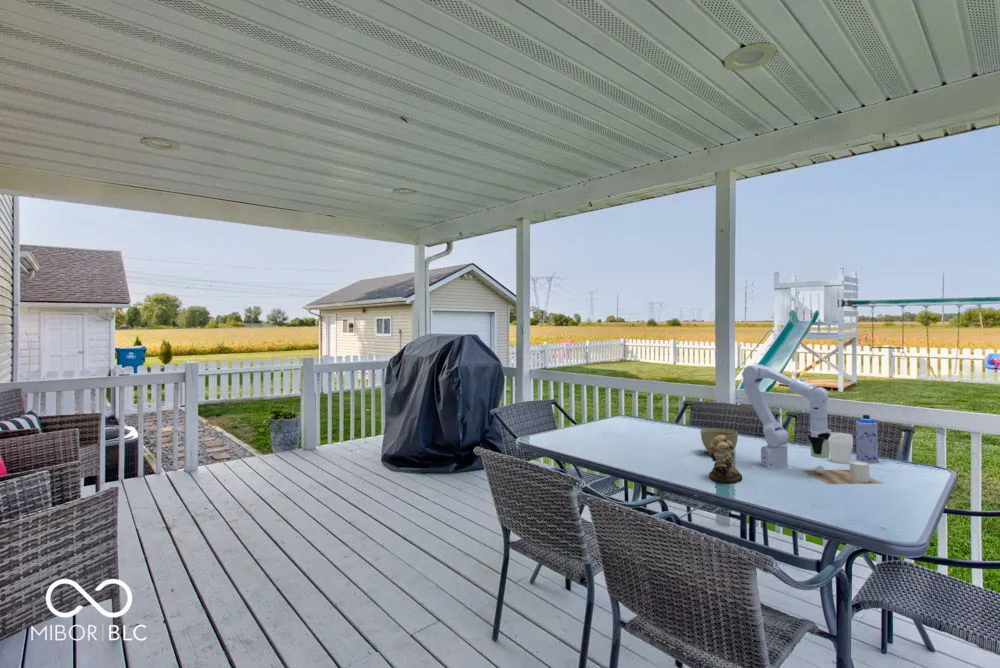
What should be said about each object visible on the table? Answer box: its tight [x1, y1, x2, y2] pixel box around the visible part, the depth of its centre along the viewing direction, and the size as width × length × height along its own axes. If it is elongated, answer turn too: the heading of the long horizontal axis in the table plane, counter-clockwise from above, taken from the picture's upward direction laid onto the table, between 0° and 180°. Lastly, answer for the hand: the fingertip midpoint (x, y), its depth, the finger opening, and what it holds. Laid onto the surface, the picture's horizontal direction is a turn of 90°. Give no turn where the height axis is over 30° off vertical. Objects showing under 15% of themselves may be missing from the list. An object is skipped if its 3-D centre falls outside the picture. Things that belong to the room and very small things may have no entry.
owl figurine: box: [708, 435, 743, 485], centre depth 188 cm, size 18×12×17 cm, turn 150°
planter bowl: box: [699, 427, 739, 455], centre depth 223 cm, size 16×16×11 cm
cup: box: [828, 431, 854, 465], centre depth 206 cm, size 9×9×12 cm
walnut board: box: [800, 469, 885, 485], centre depth 184 cm, size 20×18×1 cm
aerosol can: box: [855, 414, 880, 464], centre depth 206 cm, size 8×8×20 cm
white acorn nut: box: [849, 460, 871, 483], centre depth 179 cm, size 6×6×7 cm
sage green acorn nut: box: [810, 439, 830, 459], centre depth 189 cm, size 6×6×7 cm
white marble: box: [815, 465, 826, 474], centre depth 189 cm, size 3×3×3 cm
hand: (819, 452), depth 189 cm, fingers closed on sage green acorn nut, 6 cm apart
